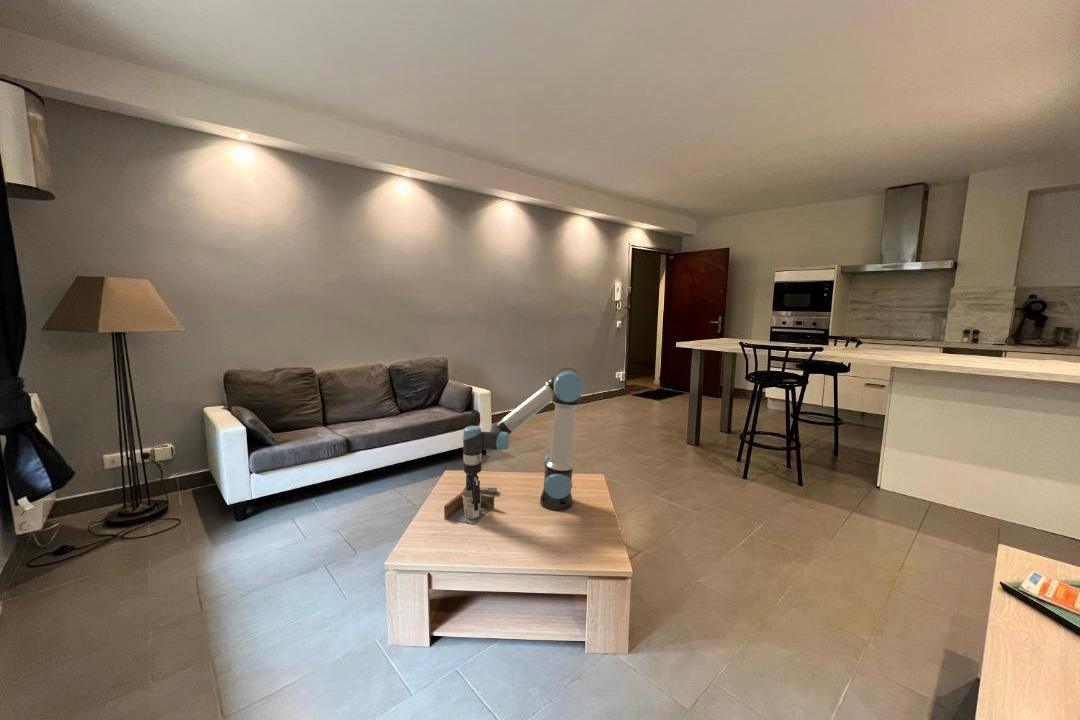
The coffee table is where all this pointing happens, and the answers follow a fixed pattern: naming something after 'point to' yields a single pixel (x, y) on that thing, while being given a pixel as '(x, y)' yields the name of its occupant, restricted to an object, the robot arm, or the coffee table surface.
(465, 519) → the mat
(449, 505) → the brown corner wall
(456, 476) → the coffee table surface
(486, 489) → the remote
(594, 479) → the coffee table surface
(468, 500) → the mug
